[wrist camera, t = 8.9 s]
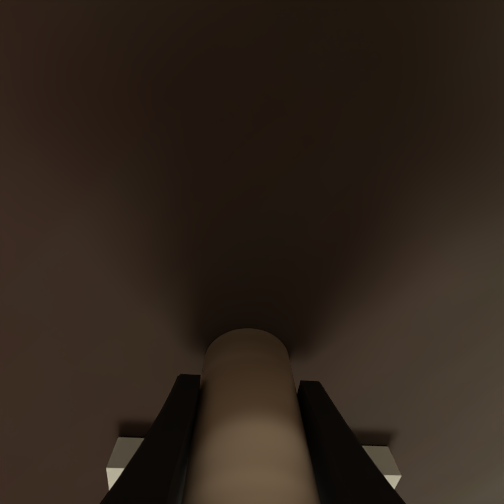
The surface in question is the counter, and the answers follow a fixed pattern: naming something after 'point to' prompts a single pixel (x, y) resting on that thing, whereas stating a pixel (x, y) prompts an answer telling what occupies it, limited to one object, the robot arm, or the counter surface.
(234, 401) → the loose leg
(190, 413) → the robot arm
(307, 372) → the counter surface
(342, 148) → the counter surface
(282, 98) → the counter surface
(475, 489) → the counter surface
